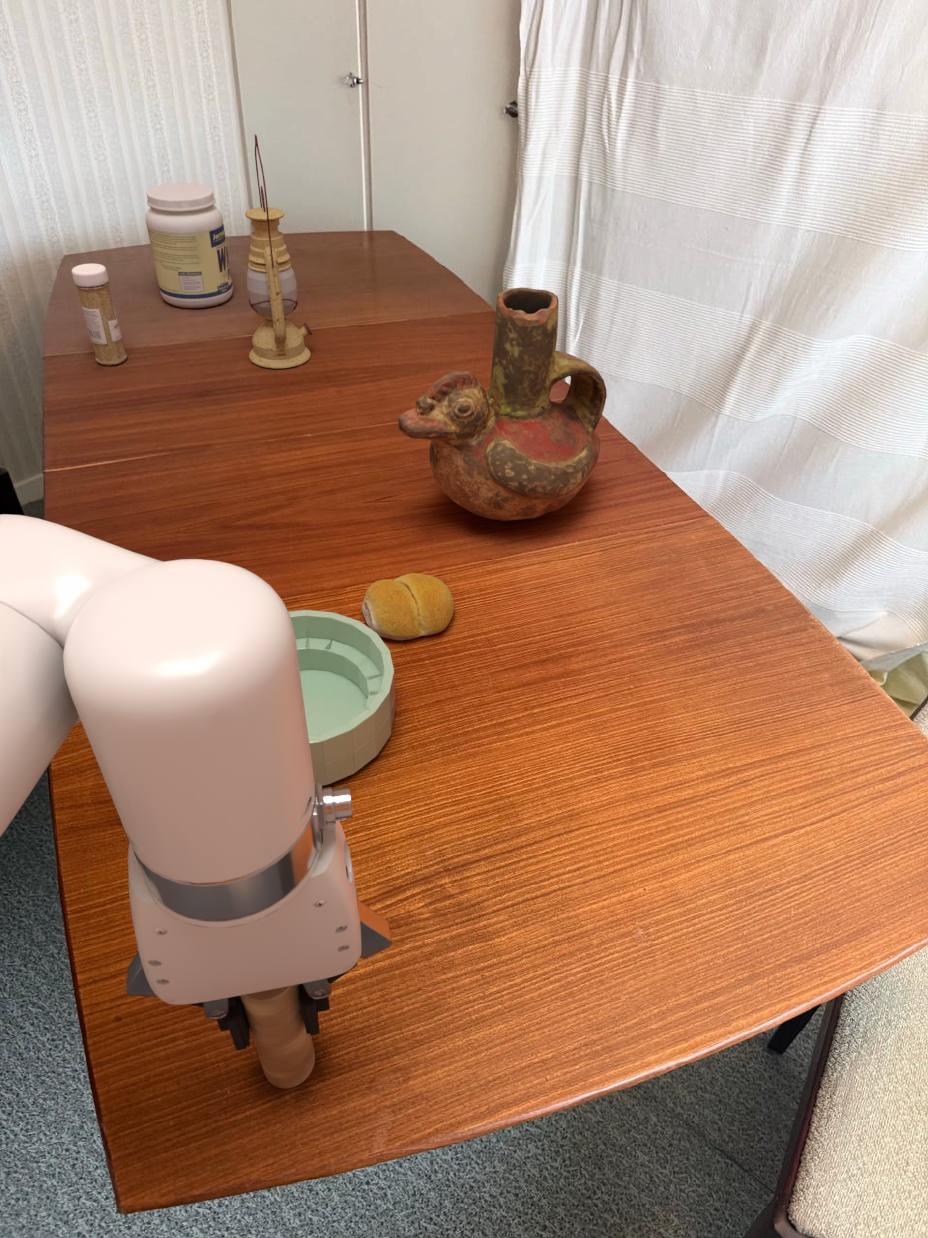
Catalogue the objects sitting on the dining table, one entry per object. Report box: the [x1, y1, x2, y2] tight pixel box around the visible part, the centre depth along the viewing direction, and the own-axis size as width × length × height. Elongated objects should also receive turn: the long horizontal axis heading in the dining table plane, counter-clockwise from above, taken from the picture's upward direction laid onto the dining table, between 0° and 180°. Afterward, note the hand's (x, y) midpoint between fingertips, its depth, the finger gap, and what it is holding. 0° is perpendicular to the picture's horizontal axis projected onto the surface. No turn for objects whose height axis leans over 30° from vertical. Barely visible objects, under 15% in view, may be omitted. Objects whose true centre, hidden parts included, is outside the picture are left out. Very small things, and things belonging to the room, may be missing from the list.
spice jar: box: [71, 263, 128, 367], centre depth 120 cm, size 5×5×14 cm
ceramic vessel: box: [397, 287, 608, 522], centre depth 90 cm, size 17×26×25 cm, turn 121°
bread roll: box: [361, 572, 455, 641], centre depth 82 cm, size 8×9×4 cm
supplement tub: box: [145, 182, 234, 309], centre depth 138 cm, size 12×12×17 cm
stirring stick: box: [240, 984, 316, 1089], centre depth 48 cm, size 3×3×12 cm
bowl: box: [288, 609, 396, 787], centre depth 70 cm, size 16×16×6 cm
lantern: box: [244, 133, 313, 369], centre depth 117 cm, size 12×10×30 cm
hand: (277, 1014), depth 47 cm, fingers closed on stirring stick, 3 cm apart
